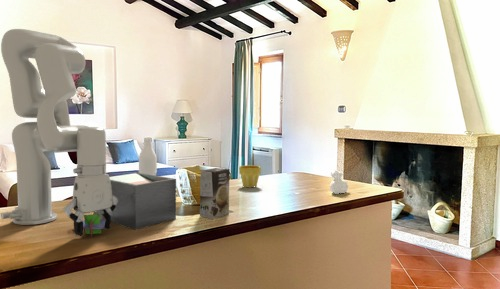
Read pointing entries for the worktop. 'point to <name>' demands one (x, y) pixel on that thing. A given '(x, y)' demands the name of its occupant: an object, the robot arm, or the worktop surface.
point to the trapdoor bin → (144, 202)
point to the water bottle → (148, 158)
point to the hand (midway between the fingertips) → (92, 231)
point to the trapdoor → (131, 179)
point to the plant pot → (249, 175)
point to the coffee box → (214, 193)
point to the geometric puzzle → (93, 223)
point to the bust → (338, 183)
